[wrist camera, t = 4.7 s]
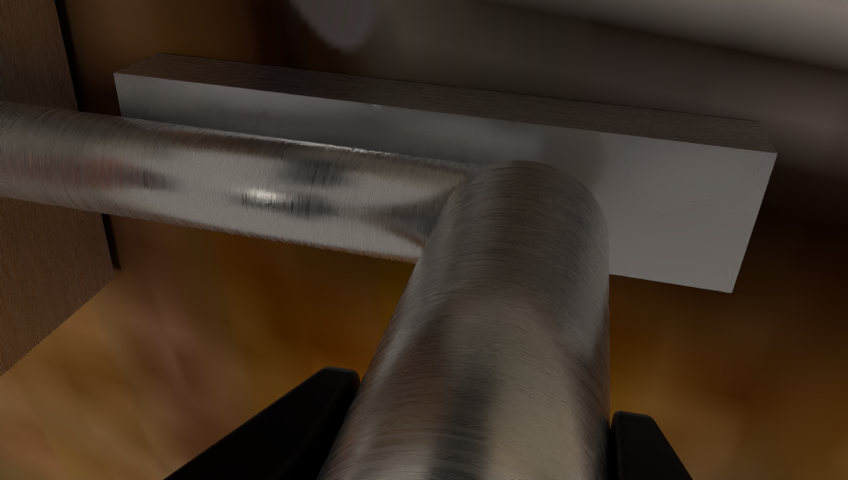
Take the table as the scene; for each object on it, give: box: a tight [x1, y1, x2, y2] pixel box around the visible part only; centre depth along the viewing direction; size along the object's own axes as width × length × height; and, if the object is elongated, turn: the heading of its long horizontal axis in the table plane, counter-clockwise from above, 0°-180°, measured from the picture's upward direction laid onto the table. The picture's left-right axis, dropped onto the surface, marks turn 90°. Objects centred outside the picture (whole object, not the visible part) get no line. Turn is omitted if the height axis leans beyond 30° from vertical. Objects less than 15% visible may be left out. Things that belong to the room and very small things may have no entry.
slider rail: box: [114, 53, 778, 293], centre depth 15 cm, size 13×3×2 cm, turn 87°
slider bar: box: [0, 0, 610, 480], centre depth 10 cm, size 14×10×13 cm
